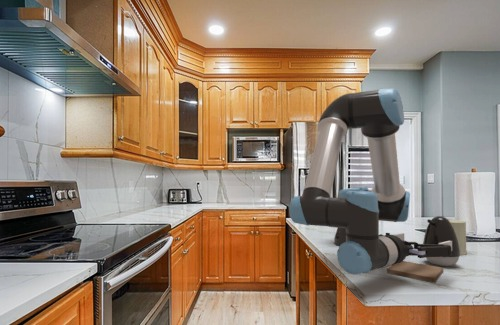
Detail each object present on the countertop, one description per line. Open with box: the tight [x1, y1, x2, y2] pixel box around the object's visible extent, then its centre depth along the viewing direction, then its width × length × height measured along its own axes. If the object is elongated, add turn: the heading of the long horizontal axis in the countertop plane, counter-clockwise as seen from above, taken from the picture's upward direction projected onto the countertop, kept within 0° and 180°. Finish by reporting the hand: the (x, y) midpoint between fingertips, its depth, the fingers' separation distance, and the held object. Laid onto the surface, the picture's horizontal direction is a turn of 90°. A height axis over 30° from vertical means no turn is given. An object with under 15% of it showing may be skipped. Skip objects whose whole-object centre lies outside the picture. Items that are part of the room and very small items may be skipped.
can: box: [447, 218, 468, 256], centre depth 111 cm, size 9×9×12 cm
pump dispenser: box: [422, 215, 461, 267], centre depth 96 cm, size 10×10×15 cm
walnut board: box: [386, 260, 444, 284], centre depth 87 cm, size 12×12×1 cm
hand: (425, 241), depth 90 cm, fingers open, 13 cm apart
